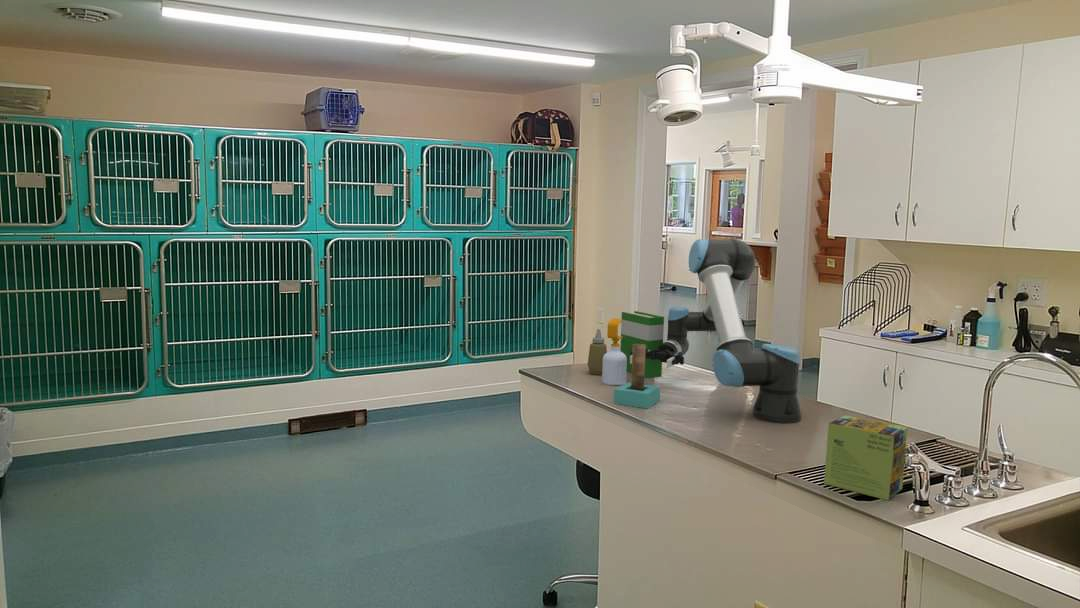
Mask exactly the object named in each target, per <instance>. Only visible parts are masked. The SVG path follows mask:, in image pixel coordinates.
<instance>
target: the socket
mask: <svg viewBox="0 0 1080 608" xmlns="http://www.w3.org/2000/svg"><path fill="white" fill-rule="evenodd" d="M613 395H614V396H613V404H614V403H615V405H619V404H620V405H621V406H626V405H628V406H627V407H632V406H634V407H635V408H639V407H642V408H641V409H645V408H648V409H649V408H651V407H653V406H655V403H656V404H658V403H659V402H660V401H661V397H660V396H661V386H656V385H655V386H654V385H650V384H649V385H648V384H644V391H639V390H632V389H631V382H626V383H625V384H624V385H619V386H618V387H616V388H614V390H613ZM652 405H653V406H652ZM650 406H651V407H650Z"/></svg>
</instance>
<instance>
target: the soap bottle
mask: <svg viewBox="0 0 1080 608" xmlns="http://www.w3.org/2000/svg"><path fill="white" fill-rule="evenodd" d="M621 322H622V319H621V318H616V317H615V318H612V319H611V320H609V321H608V323H607V338H608V339H611V341H613V342H612V343H611V344H610V350H609V351H607V353H606V354H604V356H603V368H602V375H601V376H602V377H601V379H602V380H601V382H602V383H603V384H604V385H608V386H614V385H618V386H622V385H624V384H626V383H627V373H628V372H627V357H626V355H625V354H624V353H622V352H621V351H620V347H621V343H620V344H619V343H618V342H619V341H620V340H621V338H622V337H621V335H620V336H619V335H618V333H619V325H620V324H621Z"/></svg>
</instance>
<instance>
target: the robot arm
mask: <svg viewBox="0 0 1080 608" xmlns="http://www.w3.org/2000/svg"><path fill="white" fill-rule="evenodd" d="M688 254H689V255H688V262H687V263H688V268H689V271H690V272H691V273H693V274H697V277H698V280H699V281H700V282H701V283H702V284H703V283H704V287H705V290H706V295H707V299H708V301H707V304H706V305H705V306H704V309H703V311H689V308H688V307H686V306H680V305H679V306H678V305H677V306H671V307H670V308H669V309H668V317H667V335H666V336H667V337H666V339H667V340H666V341H663V343H662V344H660V345H659V346H658V347H657V349H656V350H650V349H646V352H645V359H649V358H650V359H652V360H654V359H658V360H660V361H661V362H662V364H663V363H664V364H666V369H669V368H671V367H673V366H674V365H679V364H680V365H684V364H685V357H684V355H685V354H686V353H687V352H688V351H689V349H690V342H689V339H688V332H716V335H717V339H718V343H719V344H718V345H717V347H716V351H715V352H714V354H713V356H712V369H713V373H714V376H715V378H716V380H717V381H718V383H720V384H721V385H723V386H724V387H734V388H740V387H741V388H742V387H759V389H758V393H757V397H756V399H755V401H754V404H753V405H752V411H751V413H752V414H751V415H752V416H753V417H754V418H756V419H758V420H761V421H764V422H769V423H770V422H771V423H778V424H779V423H781V424H792V423H798V422H800V421H801V420H802V408H801V405H800V401H799V397H798V385H799V384H798V383H799V373H800V372H799V371H800V370H799V369H800V353H799V351H798V350H797V349H795V348H792V347H789V346H785V345H778V344H772V343H763V344H762V345H761V347H760V348H761V349H759V348H755V347H754V343H753V340H751V339H749V338H748V337H747V335H746V332H745V329H744V324H743V320H742V318H741V314H740V310H739V307H738V306H739V305H738V303H737V302H738V301H737V300H736V299H737V298H736V296H737V294H738V292H739V290H740V288H741V287H742V285H743V283H744V282H745V281H747V280H749V279H750V278H751V276H752V274H753V273H754V270H755V267H756V255H755V253H754V250H753V249H752V248H751V246H749V244H747V242H745V241H743V240H740V239H737V238H736V239H735V238H734V239H733V238H731V239H730V238H729V239H727V238H726V239H723V238H722V239H721V238H720V239H719V238H717V239H714V238H712V239H710V238H708V237H707V238H702V239H700V238H699V239H697V240H694V242H693V243H692V245H691V246H690V250H689V253H688ZM653 356H654V357H653ZM630 364H632V351H631V352H630Z"/></svg>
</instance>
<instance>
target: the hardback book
mask: <svg viewBox="0 0 1080 608" xmlns="http://www.w3.org/2000/svg"><path fill="white" fill-rule="evenodd" d="M620 319H622V322H620V324H621V325H620V326H621V327H620V336H621V337H622V338H621V339H620V351H621V352H622V353H624V354H625V355H626V357H627V372H626V373H628V372H629V373H628V374H631V373H632V364H630V352H631V351H632V350H633V344H645V345H646V349H650V350H656V349H657V347H658V346H659V345H660V344H662V343H664V329H665V328H664V325H665V316H662V315H657V314H651V313H647V312H641V311H636V310H634V311H633V312H625V311H621V318H620ZM653 357H654V356H653ZM662 375H663V362H661V361H660V360H658V359H654V360H652V359H650V358H649V359H645V378H644V379H647V378H648V379H654V377H655V378H661V377H662Z"/></svg>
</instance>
